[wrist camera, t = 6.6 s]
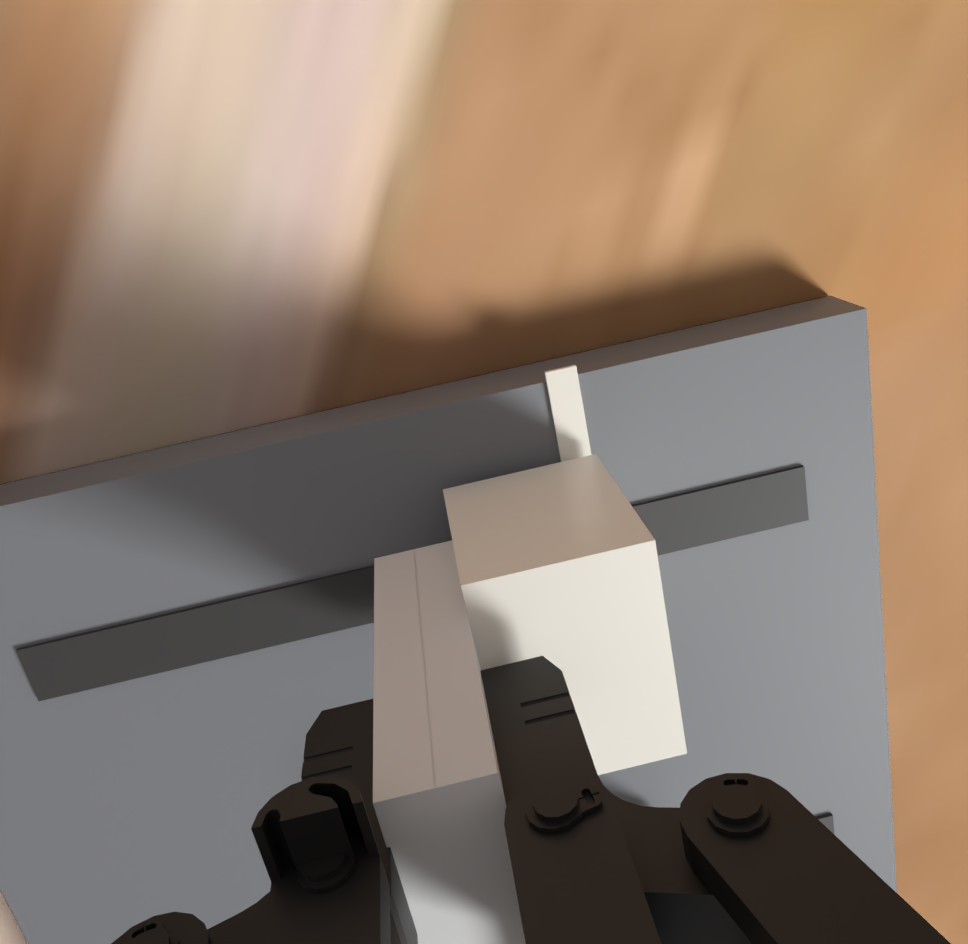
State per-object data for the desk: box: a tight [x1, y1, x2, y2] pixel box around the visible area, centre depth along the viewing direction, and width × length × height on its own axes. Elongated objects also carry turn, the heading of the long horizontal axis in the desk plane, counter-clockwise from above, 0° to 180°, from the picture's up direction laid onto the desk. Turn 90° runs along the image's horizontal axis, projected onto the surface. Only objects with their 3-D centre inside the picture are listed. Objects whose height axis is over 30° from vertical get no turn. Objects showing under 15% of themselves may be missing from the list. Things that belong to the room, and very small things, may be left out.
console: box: [0, 296, 897, 944], centre depth 21 cm, size 20×16×2 cm
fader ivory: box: [443, 454, 687, 775], centre depth 16 cm, size 3×4×4 cm
